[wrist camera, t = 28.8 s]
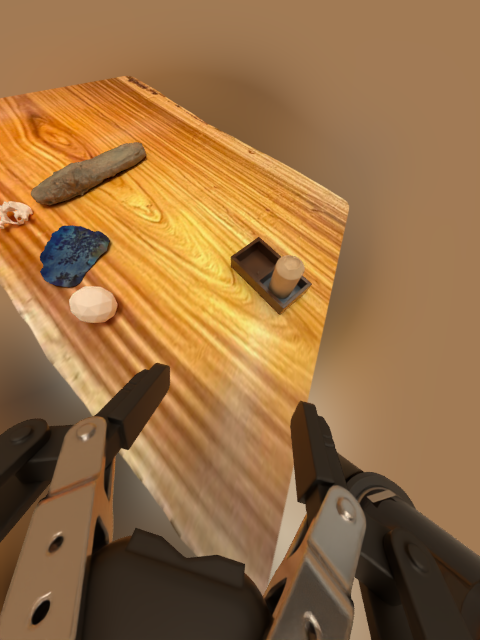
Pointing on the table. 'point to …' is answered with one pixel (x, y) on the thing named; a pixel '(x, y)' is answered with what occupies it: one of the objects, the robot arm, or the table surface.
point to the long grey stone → (87, 174)
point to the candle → (286, 276)
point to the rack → (264, 273)
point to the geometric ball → (93, 304)
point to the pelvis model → (21, 212)
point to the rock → (71, 254)
